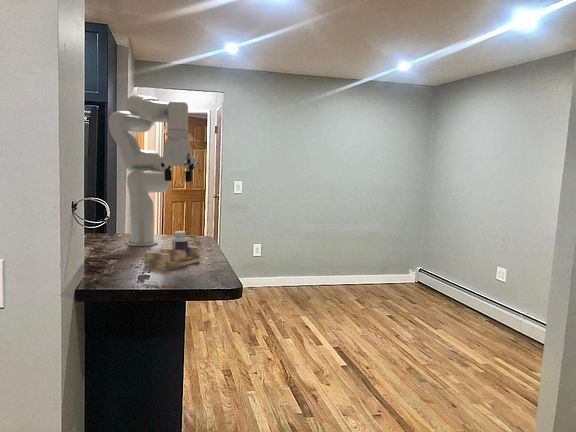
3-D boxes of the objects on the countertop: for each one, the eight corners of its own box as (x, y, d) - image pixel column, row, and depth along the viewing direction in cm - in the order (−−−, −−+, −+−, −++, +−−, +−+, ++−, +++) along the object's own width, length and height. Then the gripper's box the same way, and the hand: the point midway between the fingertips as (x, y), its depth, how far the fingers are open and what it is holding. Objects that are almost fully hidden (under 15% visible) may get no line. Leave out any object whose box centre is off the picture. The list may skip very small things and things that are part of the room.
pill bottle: (191, 258, 166) (190, 231, 165) (180, 260, 162) (179, 233, 161) (180, 256, 169) (179, 230, 168) (169, 259, 165) (168, 231, 164)
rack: (144, 266, 157) (144, 251, 156) (177, 258, 172) (177, 244, 171) (168, 270, 153) (167, 254, 152) (199, 261, 167) (199, 247, 167)
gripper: (153, 135, 174) (153, 180, 176) (190, 134, 166) (190, 182, 168) (166, 136, 181) (167, 180, 183) (202, 135, 173) (202, 181, 175)
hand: (178, 181), depth 175 cm, fingers open, 9 cm apart
